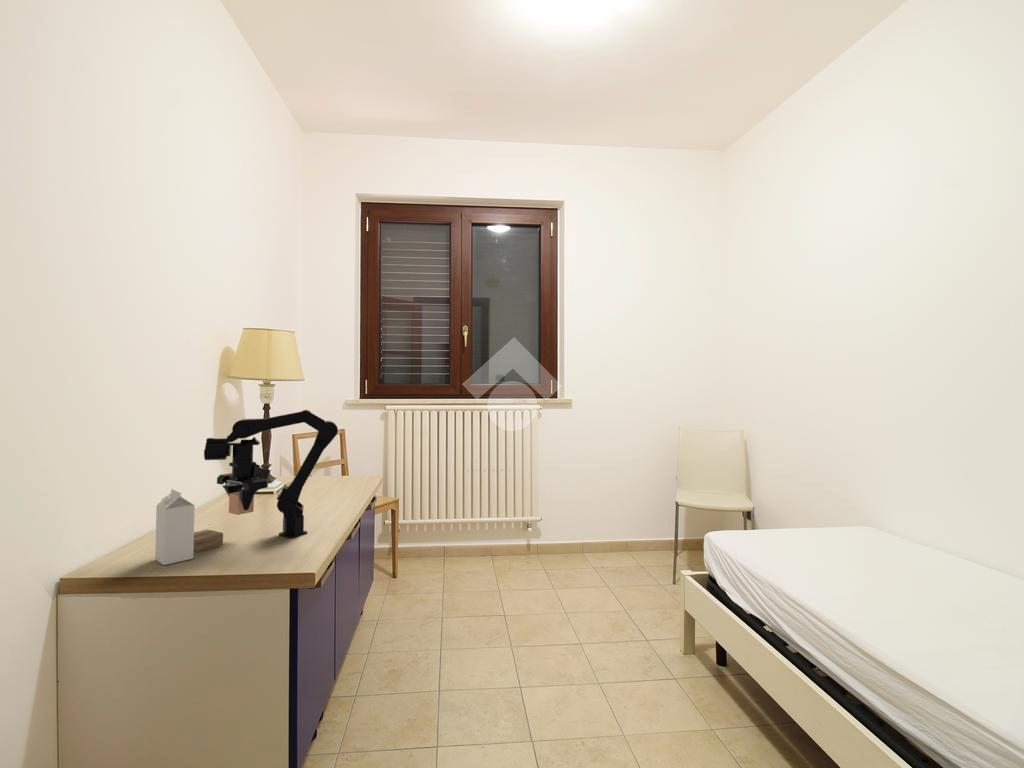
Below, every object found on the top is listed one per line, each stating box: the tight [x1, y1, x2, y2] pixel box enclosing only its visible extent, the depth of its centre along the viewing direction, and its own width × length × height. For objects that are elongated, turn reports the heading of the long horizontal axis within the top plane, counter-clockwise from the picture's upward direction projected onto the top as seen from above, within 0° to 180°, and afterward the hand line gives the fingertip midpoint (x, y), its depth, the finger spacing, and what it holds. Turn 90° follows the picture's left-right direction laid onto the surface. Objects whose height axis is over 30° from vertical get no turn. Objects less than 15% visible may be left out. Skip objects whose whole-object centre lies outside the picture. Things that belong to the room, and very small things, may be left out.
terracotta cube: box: [228, 492, 255, 516], centre depth 158 cm, size 5×5×6 cm
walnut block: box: [193, 528, 224, 554], centre depth 149 cm, size 8×8×4 cm
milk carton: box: [154, 488, 195, 566], centre depth 138 cm, size 7×7×19 cm
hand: (241, 508), depth 158 cm, fingers closed on terracotta cube, 5 cm apart
